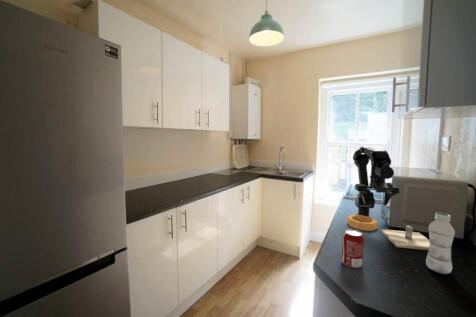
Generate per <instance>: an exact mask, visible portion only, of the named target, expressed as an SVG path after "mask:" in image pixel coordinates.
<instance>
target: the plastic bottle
mask: <svg viewBox="0 0 476 317" xmlns="http://www.w3.org/2000/svg"><path fill="white" fill-rule="evenodd" d="M434 215H435V216H434V219H435V220H433V221H432V222H430V223H429V225H428V237H429V242H430V243H429V250H427V251H428V253H427V255H426V257H425V258H426V259H425V264H426V266H427V268H429V269H430V270H431V271H434V272H435V273H439V274H443V275H449V274H450V273H451V272H452V270H453V261H452V244H453V242H454V238H455V235H456V234H455V233H456V231H455V229H454V227H453V226H452V225H451V223H450V222H451V215H450V214H448V213H444V212H435V214H434Z"/></svg>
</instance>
